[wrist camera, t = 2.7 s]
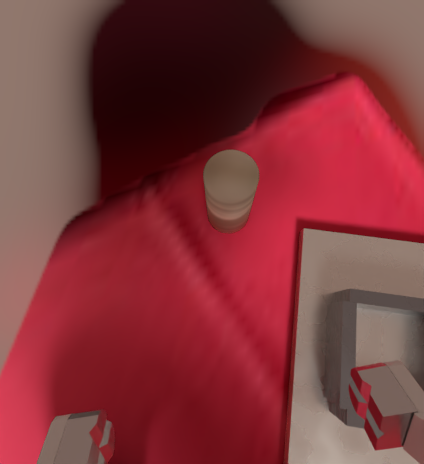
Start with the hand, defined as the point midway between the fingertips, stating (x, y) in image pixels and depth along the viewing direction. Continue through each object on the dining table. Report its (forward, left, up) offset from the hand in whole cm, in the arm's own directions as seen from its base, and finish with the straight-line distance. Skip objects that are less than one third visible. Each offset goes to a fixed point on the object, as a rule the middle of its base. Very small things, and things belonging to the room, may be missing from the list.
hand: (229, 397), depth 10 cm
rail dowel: (+12, +1, -18) cm, 22 cm away
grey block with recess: (+1, -13, -17) cm, 22 cm away
